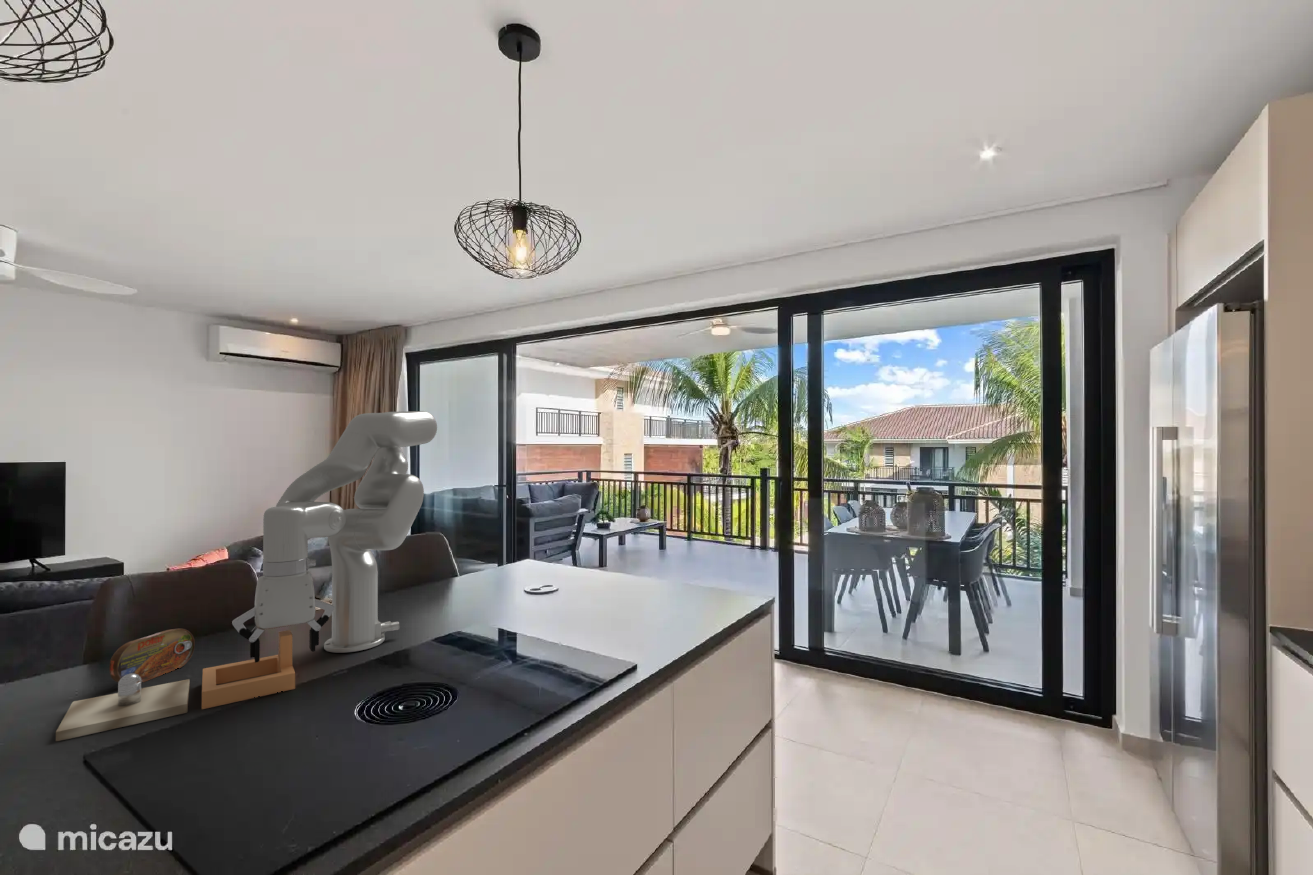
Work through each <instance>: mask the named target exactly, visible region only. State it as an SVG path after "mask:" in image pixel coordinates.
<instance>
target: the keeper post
mask: <svg viewBox="0 0 1313 875" xmlns="http://www.w3.org/2000/svg"><path fill="white" fill-rule="evenodd" d="M141 688H142V683H141V677H140V676H139V675H138V674H135V673H131V674H127V675H125V676H123V677H122V678H121V679H120V681H119V683H118V682H117V693H118V706H120V707H123V706H130V705H133V704H136V703H139V702H140V701H141Z"/></svg>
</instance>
